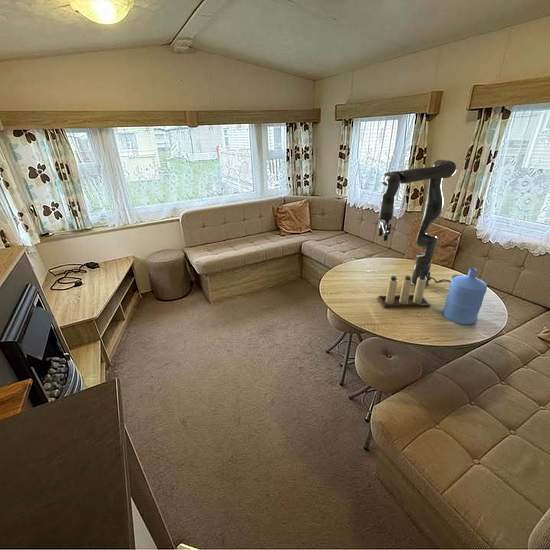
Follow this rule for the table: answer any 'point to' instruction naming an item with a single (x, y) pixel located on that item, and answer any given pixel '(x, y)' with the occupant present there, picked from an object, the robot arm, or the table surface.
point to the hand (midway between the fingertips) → (382, 238)
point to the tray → (398, 304)
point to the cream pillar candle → (391, 290)
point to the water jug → (465, 298)
